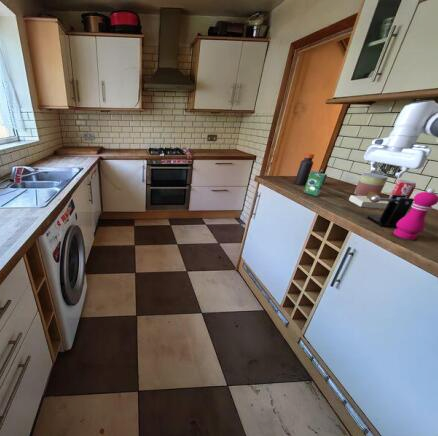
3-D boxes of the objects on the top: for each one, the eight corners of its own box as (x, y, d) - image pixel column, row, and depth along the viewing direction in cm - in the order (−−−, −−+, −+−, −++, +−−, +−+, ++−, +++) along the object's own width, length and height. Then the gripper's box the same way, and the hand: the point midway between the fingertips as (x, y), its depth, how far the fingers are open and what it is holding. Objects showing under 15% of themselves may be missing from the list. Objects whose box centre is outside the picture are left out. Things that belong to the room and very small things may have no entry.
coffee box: (319, 196, 133) (327, 174, 127) (316, 196, 132) (324, 174, 126) (305, 192, 140) (313, 170, 134) (302, 192, 138) (310, 171, 133)
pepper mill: (386, 231, 95) (412, 185, 86) (404, 232, 94) (431, 185, 86) (403, 240, 88) (433, 191, 79) (422, 241, 88) (454, 192, 79)
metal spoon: (372, 203, 98) (375, 196, 96) (366, 200, 100) (370, 193, 99) (406, 205, 96) (410, 198, 94) (399, 203, 99) (403, 196, 97)
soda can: (393, 206, 121) (405, 183, 115) (382, 201, 127) (394, 179, 122) (408, 207, 120) (421, 184, 114) (397, 202, 126) (409, 180, 121)
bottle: (292, 182, 158) (301, 153, 149) (301, 182, 158) (310, 153, 150) (299, 185, 152) (309, 155, 143) (308, 185, 152) (318, 155, 144)
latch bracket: (381, 226, 98) (396, 199, 93) (366, 218, 106) (379, 192, 101) (412, 229, 97) (429, 201, 91) (395, 220, 105) (410, 194, 99)
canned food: (382, 199, 131) (392, 179, 126) (358, 196, 134) (367, 176, 129) (372, 193, 141) (381, 174, 135) (350, 190, 144) (358, 172, 139)
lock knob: (366, 197, 124) (369, 190, 122) (369, 197, 124) (372, 191, 122) (372, 200, 119) (376, 194, 118) (376, 200, 119) (379, 194, 117)
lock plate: (376, 202, 126) (378, 196, 125) (390, 209, 117) (393, 203, 116) (348, 200, 128) (350, 194, 127) (360, 206, 119) (363, 201, 118)
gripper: (438, 146, 89) (419, 180, 95) (377, 139, 107) (364, 168, 113) (428, 146, 88) (409, 181, 94) (368, 139, 105) (356, 169, 111)
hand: (384, 174), depth 103 cm, fingers open, 8 cm apart
